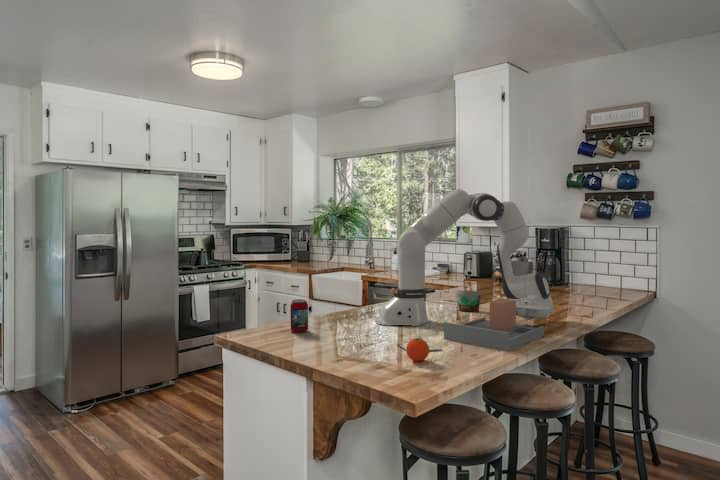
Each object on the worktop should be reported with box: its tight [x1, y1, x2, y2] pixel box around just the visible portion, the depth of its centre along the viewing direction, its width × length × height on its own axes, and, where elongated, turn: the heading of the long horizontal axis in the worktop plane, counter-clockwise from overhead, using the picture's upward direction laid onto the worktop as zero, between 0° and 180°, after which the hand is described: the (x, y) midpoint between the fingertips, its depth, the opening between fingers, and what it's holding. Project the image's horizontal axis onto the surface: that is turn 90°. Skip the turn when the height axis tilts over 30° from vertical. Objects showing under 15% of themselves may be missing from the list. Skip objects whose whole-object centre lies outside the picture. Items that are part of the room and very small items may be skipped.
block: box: [489, 298, 517, 331], centre depth 183 cm, size 10×6×10 cm, turn 137°
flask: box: [511, 256, 534, 276], centre depth 295 cm, size 15×6×20 cm, turn 41°
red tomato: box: [405, 337, 430, 362], centre depth 149 cm, size 8×7×7 cm
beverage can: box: [290, 298, 309, 334], centre depth 188 cm, size 7×7×12 cm
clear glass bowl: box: [395, 334, 443, 352], centre depth 165 cm, size 12×12×5 cm
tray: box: [443, 316, 545, 352], centre depth 178 cm, size 29×25×6 cm
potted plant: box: [455, 289, 483, 313], centre depth 228 cm, size 12×6×10 cm, turn 68°
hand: (514, 312), depth 187 cm, fingers closed
